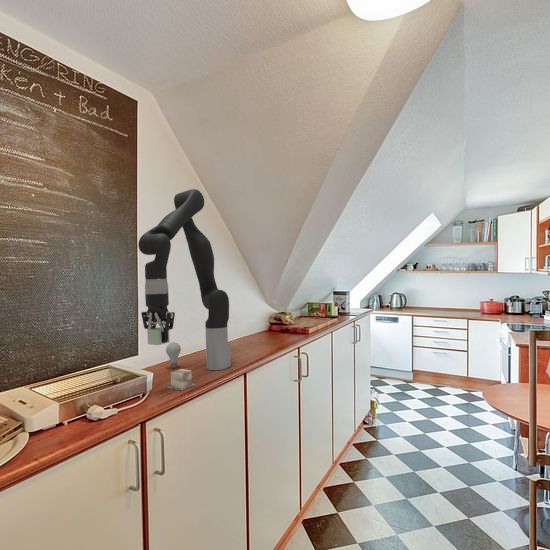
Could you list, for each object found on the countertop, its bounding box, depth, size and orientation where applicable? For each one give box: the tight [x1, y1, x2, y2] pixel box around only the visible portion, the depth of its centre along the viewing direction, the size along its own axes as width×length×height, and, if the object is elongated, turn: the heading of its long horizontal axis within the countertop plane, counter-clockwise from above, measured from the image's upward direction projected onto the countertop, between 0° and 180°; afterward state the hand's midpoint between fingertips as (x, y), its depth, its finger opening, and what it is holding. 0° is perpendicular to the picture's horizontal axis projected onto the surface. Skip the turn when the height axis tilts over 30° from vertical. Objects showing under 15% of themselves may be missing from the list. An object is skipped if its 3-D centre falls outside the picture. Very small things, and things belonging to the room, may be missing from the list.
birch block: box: [170, 368, 193, 389], centre depth 125 cm, size 5×5×5 cm
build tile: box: [166, 382, 197, 392], centre depth 125 cm, size 7×7×1 cm
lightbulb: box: [165, 341, 182, 369], centre depth 151 cm, size 6×6×11 cm
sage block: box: [146, 326, 171, 346], centre depth 121 cm, size 5×5×5 cm
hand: (158, 341), depth 121 cm, fingers closed on sage block, 5 cm apart
